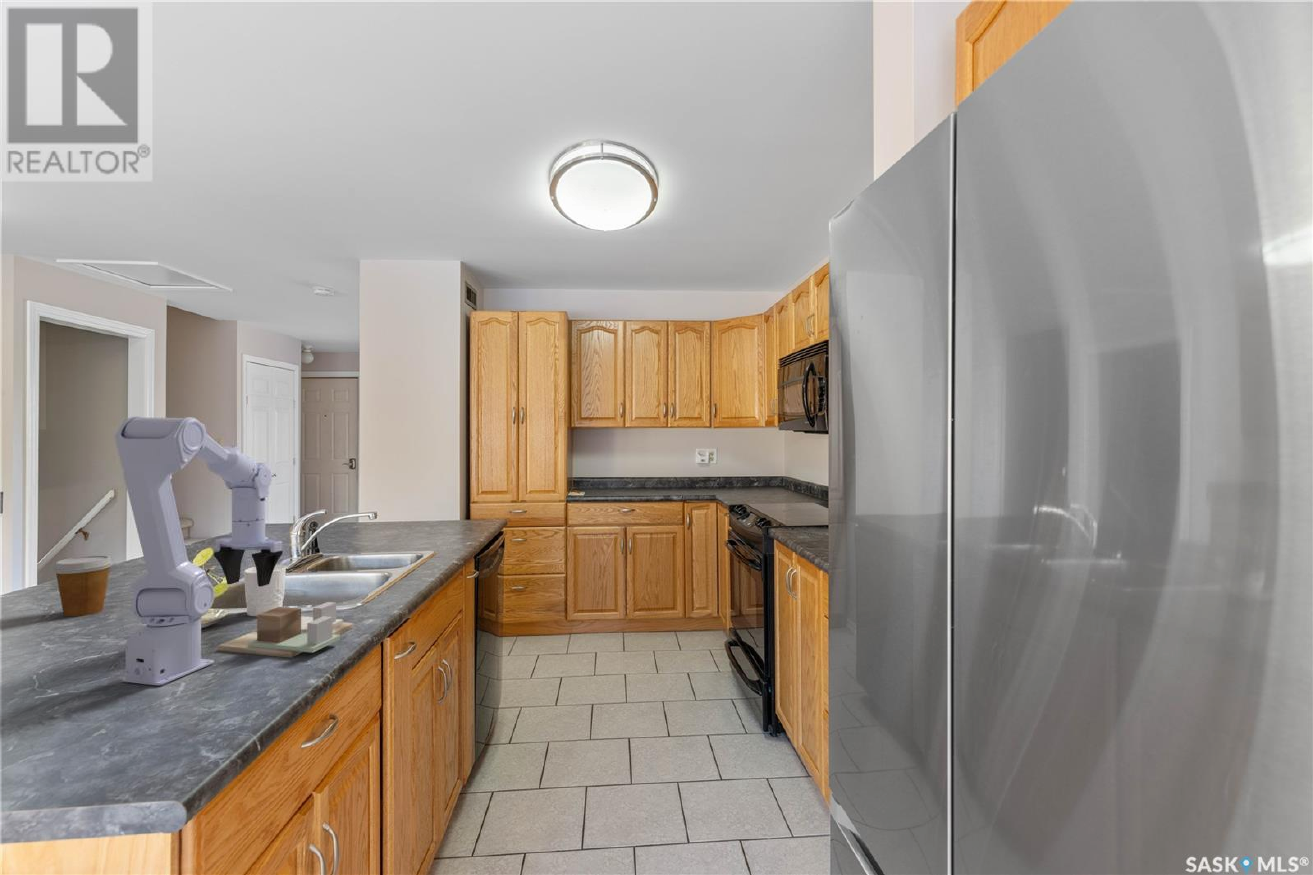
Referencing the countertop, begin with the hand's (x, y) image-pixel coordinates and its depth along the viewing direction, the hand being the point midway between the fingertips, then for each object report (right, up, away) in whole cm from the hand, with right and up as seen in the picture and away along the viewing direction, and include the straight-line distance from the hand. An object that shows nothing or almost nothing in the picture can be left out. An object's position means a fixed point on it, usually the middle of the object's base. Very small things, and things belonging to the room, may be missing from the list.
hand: (248, 584), depth 118 cm
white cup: (-4, -10, +11) cm, 15 cm away
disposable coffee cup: (-44, -9, +9) cm, 46 cm away
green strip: (+16, -9, -10) cm, 21 cm away
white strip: (+12, -9, -1) cm, 15 cm away
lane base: (+12, -10, -5) cm, 16 cm away
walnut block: (+13, -8, -9) cm, 18 cm away
